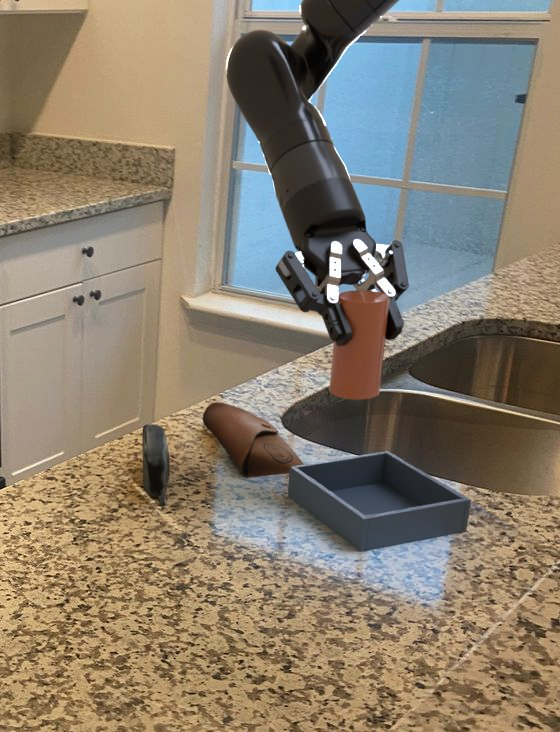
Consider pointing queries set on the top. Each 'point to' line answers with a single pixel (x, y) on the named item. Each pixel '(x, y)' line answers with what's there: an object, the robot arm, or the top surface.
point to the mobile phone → (155, 462)
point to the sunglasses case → (250, 441)
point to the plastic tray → (378, 500)
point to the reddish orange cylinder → (361, 346)
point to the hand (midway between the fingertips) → (370, 338)
